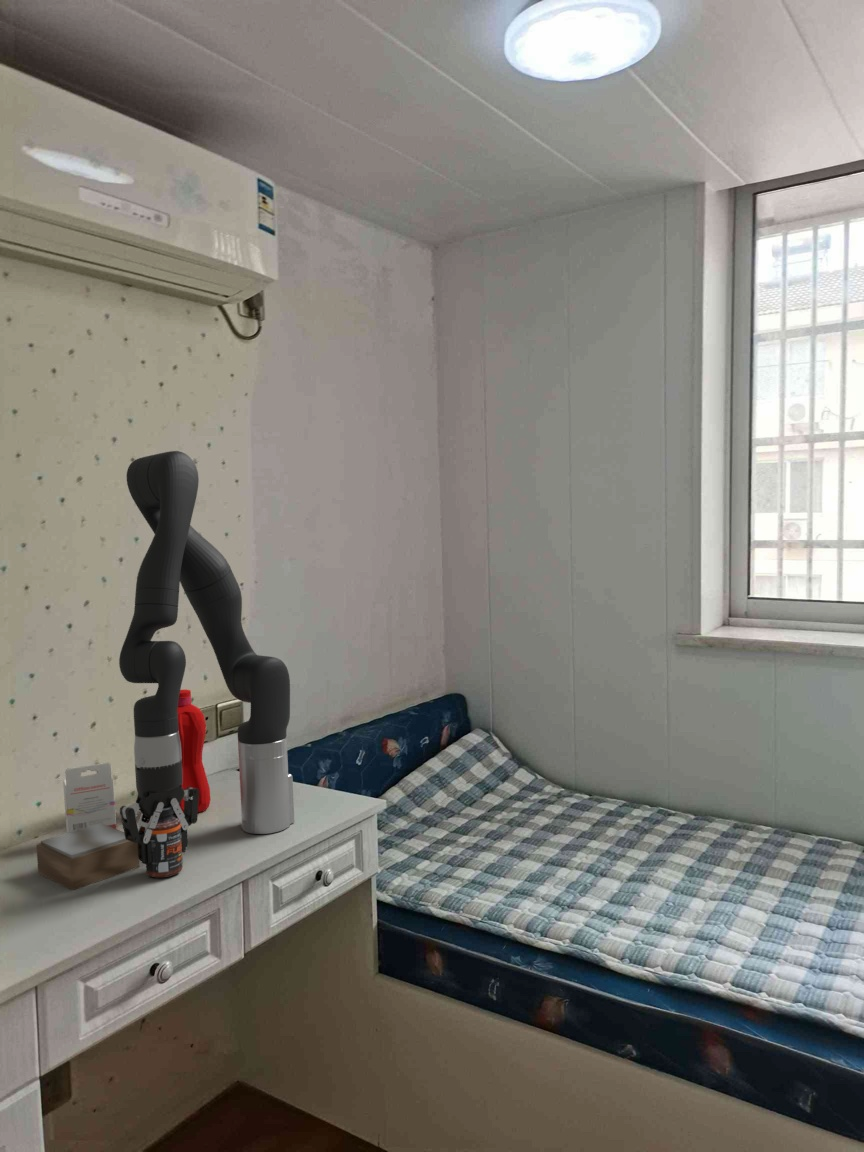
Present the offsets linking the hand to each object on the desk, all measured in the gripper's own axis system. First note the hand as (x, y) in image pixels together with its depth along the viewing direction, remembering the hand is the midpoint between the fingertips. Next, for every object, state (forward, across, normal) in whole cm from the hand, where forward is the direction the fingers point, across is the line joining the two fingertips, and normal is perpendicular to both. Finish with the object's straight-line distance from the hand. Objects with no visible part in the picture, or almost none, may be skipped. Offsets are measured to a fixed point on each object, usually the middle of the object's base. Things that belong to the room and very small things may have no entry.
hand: (163, 856), depth 149 cm
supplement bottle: (+3, 0, 0) cm, 3 cm away
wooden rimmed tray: (+3, +7, -12) cm, 14 cm away
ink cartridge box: (+3, -1, -26) cm, 26 cm away
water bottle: (+3, -22, -27) cm, 35 cm away
